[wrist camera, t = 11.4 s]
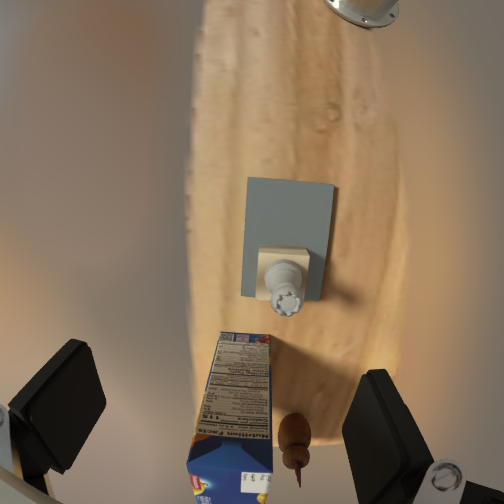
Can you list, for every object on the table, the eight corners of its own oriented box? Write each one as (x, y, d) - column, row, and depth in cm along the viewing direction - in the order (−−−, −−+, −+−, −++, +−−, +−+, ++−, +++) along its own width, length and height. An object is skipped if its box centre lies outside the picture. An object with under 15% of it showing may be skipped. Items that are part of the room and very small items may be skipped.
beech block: (259, 244, 37) (258, 252, 33) (304, 247, 37) (309, 256, 33) (256, 287, 39) (255, 299, 35) (299, 289, 39) (303, 302, 35)
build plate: (248, 177, 36) (247, 177, 35) (332, 184, 36) (334, 184, 35) (241, 293, 40) (240, 295, 39) (318, 297, 40) (319, 300, 39)
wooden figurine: (303, 430, 48) (310, 490, 33) (275, 429, 48) (276, 491, 34) (311, 409, 46) (321, 473, 32) (280, 408, 46) (283, 474, 32)
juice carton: (264, 390, 45) (262, 513, 22) (221, 387, 45) (198, 507, 22) (269, 333, 42) (273, 471, 19) (220, 330, 42) (186, 463, 19)
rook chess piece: (302, 257, 33) (313, 282, 26) (300, 292, 34) (309, 325, 27) (264, 257, 33) (264, 282, 26) (263, 292, 35) (263, 325, 27)
